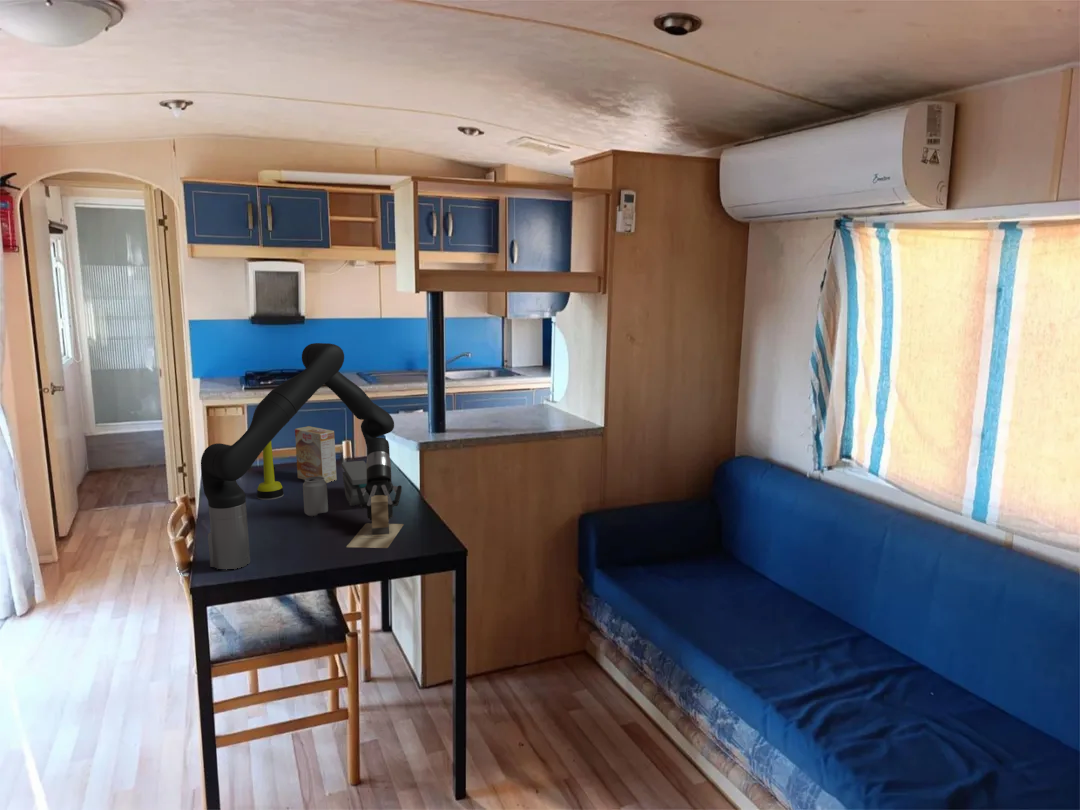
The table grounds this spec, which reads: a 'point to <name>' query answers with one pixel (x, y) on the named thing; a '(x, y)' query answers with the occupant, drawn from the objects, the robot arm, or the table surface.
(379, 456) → the robot arm
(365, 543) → the board
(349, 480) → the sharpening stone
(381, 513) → the block
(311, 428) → the coffeecake box
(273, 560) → the table surface
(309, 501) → the can
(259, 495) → the flashlight
